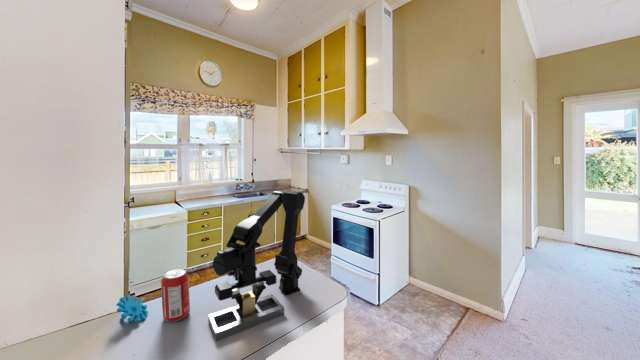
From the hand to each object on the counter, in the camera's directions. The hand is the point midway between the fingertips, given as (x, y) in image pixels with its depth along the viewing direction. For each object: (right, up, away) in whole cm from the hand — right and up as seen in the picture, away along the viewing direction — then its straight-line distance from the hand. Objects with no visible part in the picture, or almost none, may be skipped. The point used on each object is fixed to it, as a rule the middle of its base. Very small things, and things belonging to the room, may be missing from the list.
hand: (247, 308), depth 84 cm
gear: (-37, -3, -1) cm, 37 cm away
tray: (0, -4, 0) cm, 4 cm away
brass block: (0, -2, 0) cm, 2 cm away
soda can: (-24, -3, +1) cm, 24 cm away
